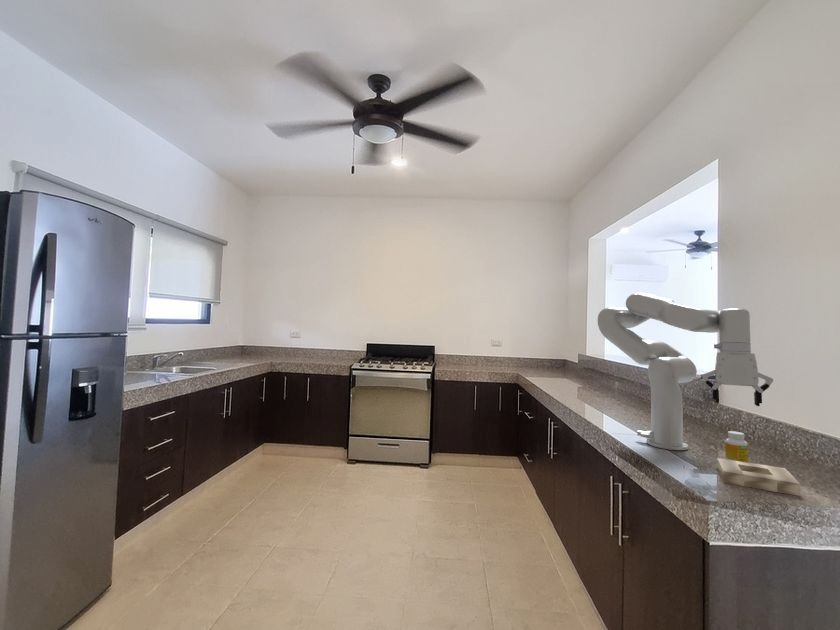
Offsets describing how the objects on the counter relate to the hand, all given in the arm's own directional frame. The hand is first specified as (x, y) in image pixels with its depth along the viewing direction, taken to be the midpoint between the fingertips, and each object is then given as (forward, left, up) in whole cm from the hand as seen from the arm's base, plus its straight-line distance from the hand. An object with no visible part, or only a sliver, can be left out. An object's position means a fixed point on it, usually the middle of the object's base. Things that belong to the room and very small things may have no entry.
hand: (736, 403), depth 120 cm
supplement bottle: (0, 0, -19) cm, 19 cm away
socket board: (+2, -15, -19) cm, 24 cm away
